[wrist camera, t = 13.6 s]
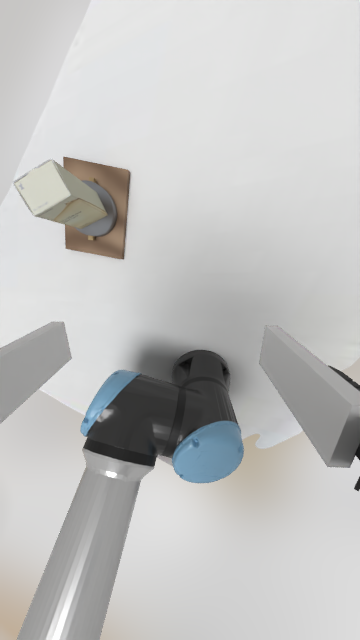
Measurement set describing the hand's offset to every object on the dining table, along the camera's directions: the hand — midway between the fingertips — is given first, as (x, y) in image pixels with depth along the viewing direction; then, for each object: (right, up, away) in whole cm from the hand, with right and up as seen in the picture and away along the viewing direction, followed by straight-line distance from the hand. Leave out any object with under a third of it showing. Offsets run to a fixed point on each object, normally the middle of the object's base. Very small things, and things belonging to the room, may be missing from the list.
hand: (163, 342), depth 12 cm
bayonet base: (-16, +23, +26) cm, 38 cm away
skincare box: (-16, +22, +23) cm, 35 cm away
